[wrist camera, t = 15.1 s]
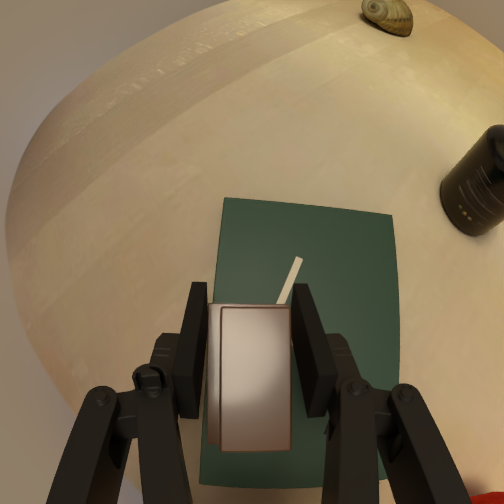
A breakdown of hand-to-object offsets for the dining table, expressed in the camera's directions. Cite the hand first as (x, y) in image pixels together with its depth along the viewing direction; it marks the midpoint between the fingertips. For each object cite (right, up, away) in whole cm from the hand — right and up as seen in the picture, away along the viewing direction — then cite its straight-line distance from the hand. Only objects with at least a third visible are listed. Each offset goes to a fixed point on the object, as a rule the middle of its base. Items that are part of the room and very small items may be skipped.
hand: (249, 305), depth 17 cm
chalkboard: (+4, -4, +4) cm, 7 cm away
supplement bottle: (+21, +7, +9) cm, 24 cm away
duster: (0, -5, +2) cm, 5 cm away
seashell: (+21, +38, +20) cm, 48 cm away
